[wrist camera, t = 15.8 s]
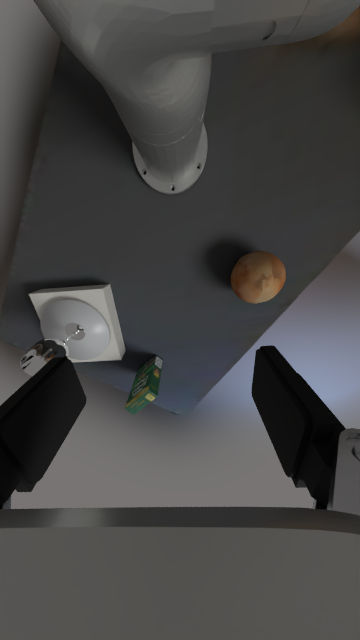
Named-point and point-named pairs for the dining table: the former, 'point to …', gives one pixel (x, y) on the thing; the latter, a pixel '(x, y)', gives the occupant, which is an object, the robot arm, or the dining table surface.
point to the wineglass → (50, 349)
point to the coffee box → (145, 385)
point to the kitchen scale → (82, 320)
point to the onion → (258, 277)
